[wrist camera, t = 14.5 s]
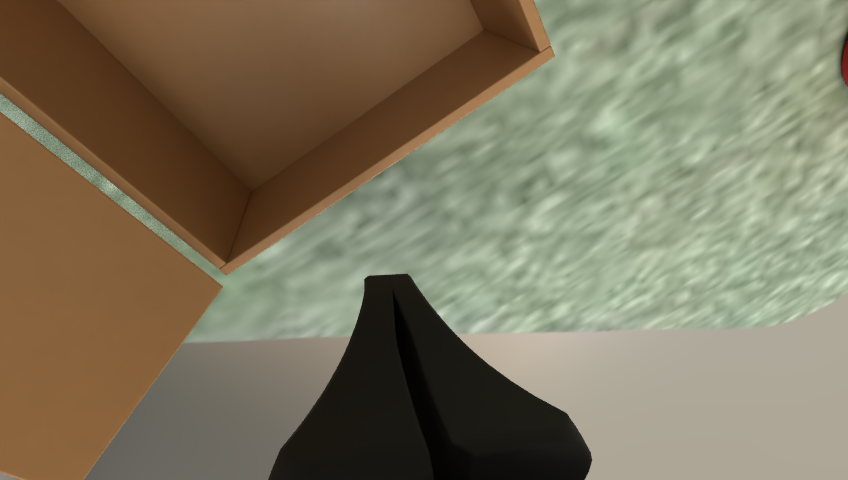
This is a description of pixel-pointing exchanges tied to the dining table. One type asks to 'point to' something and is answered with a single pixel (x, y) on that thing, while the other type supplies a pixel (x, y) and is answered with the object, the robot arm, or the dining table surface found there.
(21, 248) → the flap
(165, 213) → the carton
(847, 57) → the canned food
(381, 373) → the robot arm
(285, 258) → the dining table surface
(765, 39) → the dining table surface
